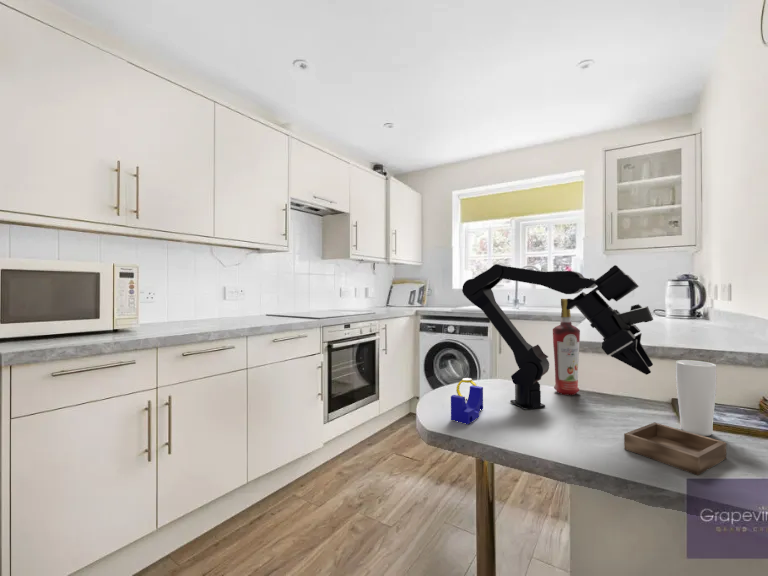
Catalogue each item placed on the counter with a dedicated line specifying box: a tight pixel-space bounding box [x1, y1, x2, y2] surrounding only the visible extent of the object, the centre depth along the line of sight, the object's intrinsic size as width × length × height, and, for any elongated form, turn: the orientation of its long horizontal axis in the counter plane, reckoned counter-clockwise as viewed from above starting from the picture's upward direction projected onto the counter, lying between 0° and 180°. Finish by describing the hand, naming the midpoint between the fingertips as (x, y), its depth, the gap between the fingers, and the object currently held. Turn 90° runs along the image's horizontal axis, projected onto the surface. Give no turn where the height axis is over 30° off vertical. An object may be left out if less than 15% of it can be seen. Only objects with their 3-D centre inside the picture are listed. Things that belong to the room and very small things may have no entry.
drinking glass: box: [675, 359, 718, 437], centre depth 79 cm, size 7×7×15 cm
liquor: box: [552, 298, 581, 396], centre depth 109 cm, size 7×7×28 cm
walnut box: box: [623, 422, 727, 476], centre depth 69 cm, size 12×12×3 cm
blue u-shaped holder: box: [450, 384, 484, 425], centre depth 91 cm, size 12×4×6 cm, turn 142°
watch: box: [456, 377, 478, 396], centre depth 103 cm, size 6×3×6 cm, turn 57°
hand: (650, 369), depth 82 cm, fingers open, 9 cm apart
